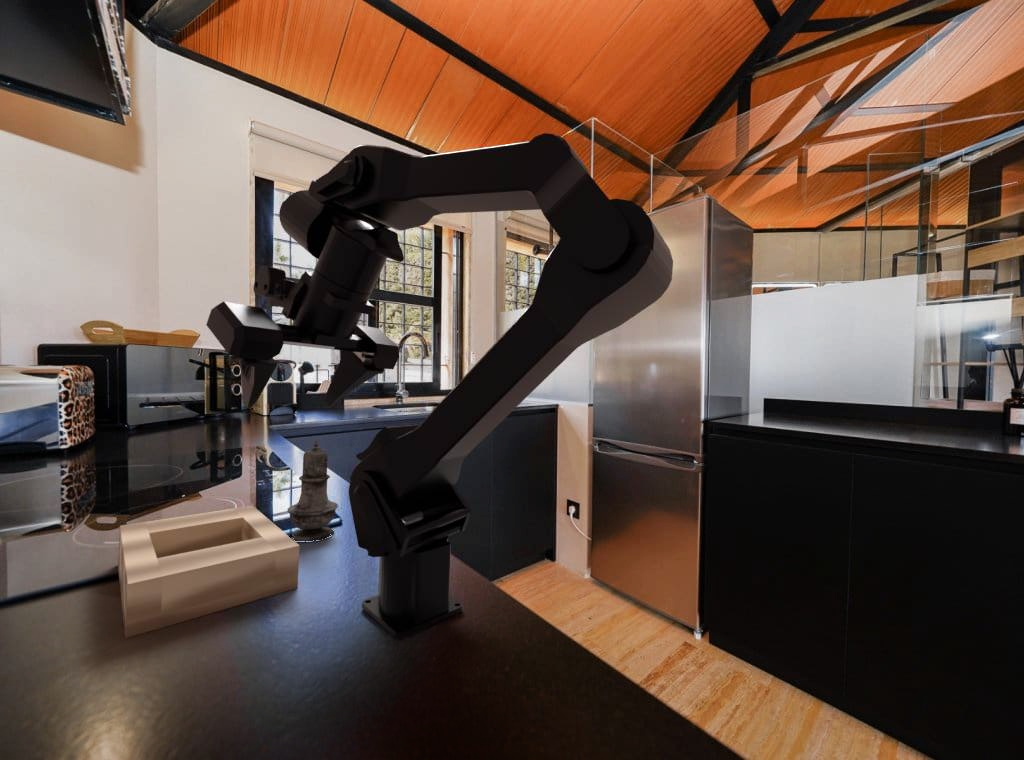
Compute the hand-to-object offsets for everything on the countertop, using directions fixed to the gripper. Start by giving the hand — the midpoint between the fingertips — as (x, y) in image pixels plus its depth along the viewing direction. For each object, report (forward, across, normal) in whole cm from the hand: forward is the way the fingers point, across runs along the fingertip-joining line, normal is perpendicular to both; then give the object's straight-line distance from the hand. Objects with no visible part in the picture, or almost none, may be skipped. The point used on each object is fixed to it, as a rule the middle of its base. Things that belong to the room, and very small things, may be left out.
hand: (290, 405), depth 47 cm
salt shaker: (+16, -6, +6) cm, 18 cm away
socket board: (+15, +7, +8) cm, 18 cm away
